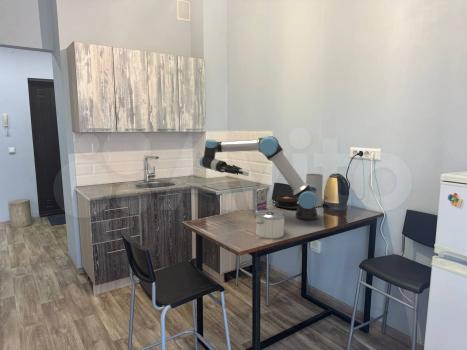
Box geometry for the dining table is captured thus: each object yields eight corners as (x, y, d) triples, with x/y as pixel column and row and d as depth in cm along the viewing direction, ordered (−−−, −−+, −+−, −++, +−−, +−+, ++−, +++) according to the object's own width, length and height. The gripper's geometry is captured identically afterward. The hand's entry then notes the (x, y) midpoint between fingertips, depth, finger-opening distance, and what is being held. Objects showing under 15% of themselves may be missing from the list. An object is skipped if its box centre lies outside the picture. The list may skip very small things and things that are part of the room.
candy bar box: (261, 208, 257) (261, 187, 254) (266, 209, 253) (267, 188, 251) (252, 211, 248) (252, 189, 246) (257, 212, 245) (257, 190, 243)
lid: (248, 215, 196) (248, 212, 196) (266, 209, 209) (266, 207, 209) (274, 221, 185) (274, 219, 184) (290, 215, 197) (290, 212, 197)
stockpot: (245, 234, 195) (245, 216, 194) (268, 226, 213) (268, 209, 211) (269, 241, 184) (270, 222, 183) (292, 231, 202) (292, 214, 200)
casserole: (307, 208, 258) (308, 198, 257) (290, 212, 247) (290, 201, 246) (284, 202, 278) (285, 192, 277) (267, 205, 268) (268, 195, 266)
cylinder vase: (322, 204, 270) (323, 174, 267) (320, 208, 259) (321, 176, 255) (306, 203, 275) (307, 173, 271) (303, 206, 263) (305, 175, 260)
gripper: (225, 169, 228) (253, 177, 214) (212, 173, 218) (240, 181, 204) (225, 158, 226) (254, 166, 212) (212, 162, 216) (241, 169, 202)
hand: (247, 173), depth 208 cm, fingers closed
